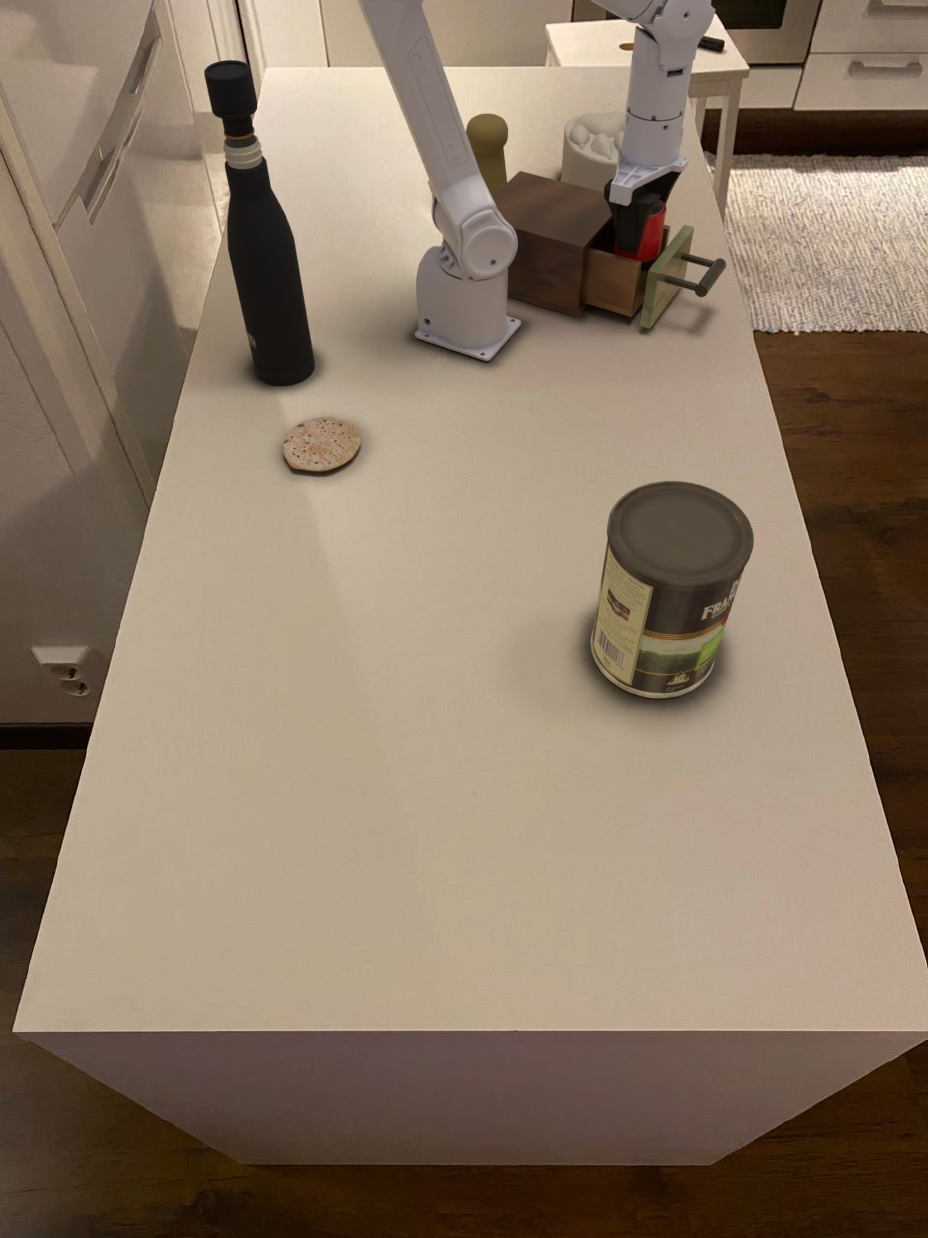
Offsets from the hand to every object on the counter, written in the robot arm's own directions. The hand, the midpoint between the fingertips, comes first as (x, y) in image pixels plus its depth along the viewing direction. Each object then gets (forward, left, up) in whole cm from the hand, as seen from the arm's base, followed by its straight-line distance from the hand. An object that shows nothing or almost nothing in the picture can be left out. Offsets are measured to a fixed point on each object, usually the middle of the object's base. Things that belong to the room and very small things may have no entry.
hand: (637, 238), depth 103 cm
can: (0, 0, -1) cm, 1 cm away
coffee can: (+21, -45, -8) cm, 50 cm away
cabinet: (-11, 0, -8) cm, 13 cm away
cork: (-25, +11, -8) cm, 28 cm away
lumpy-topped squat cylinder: (-13, +21, -8) cm, 26 cm away
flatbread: (-17, -38, -8) cm, 42 cm away
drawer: (+1, 0, -7) cm, 7 cm away
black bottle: (-28, -29, -8) cm, 41 cm away
